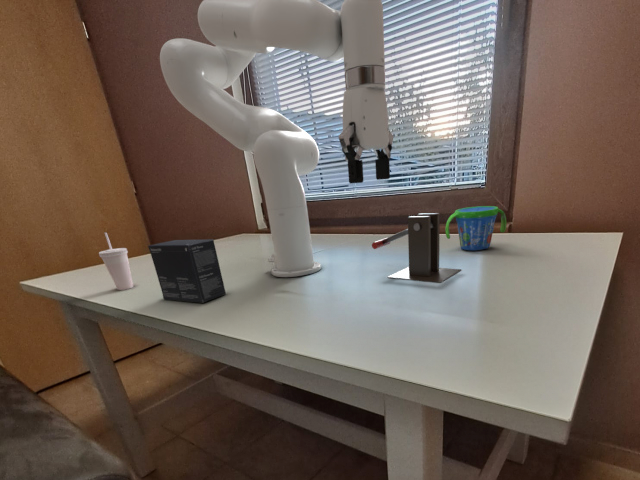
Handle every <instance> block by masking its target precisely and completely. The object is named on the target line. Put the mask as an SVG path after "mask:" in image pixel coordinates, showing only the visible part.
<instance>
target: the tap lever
mask: <svg viewBox="0 0 640 480" xmlns="http://www.w3.org/2000/svg"><path fill="white" fill-rule="evenodd" d="M433 227H434V225H433V222H432V219H431V228H433ZM405 236H408V228H406V229H404V230H402V231H399V232H396V233H395V234H393V235H391V236H388V237H386V238H382V239H379V240H377V241H374V242H372V243H371V248H372V249H373V250H377V249H379V248H382V247H385V246H388V245H390V244H391V242H394V241H396V240H398V239H400V238H403V237H405Z"/></svg>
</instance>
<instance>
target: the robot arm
mask: <svg viewBox="0 0 640 480" xmlns="http://www.w3.org/2000/svg"><path fill="white" fill-rule="evenodd" d="M197 22H198V26H199V29H200V32H202V34H203V36H204V37H205V39H207V40H208V42H210V43H211V44H212V45H210V44H208V43H204V42H201V41H198V40H193V39H189V38H184V37H183V38H182V37H181V38H173V39H169V40H168V41H165V43H164V44H163V45H162V46H161V49H160V52H159V63H160V69H161V72H162V73H161V74H162V75H163V79H164V81H165V84H166V85H167V88H168V89H169V91H170V92H171V94H172V95H173V97H174V98H175V100H177V102H178V103H179V104H180V105H181V106H182V107H183V108H185V109H186V110H187V111H188V112H189V113H190V114H192V115H193V116H194V117H196V118H197V119H199V120H200V121H201V122H202V123H205V124H206V125H207V126H208V127H210V129H212V130H213V131H214V132H216V133H217V134H218V135H219V136H221V137H222V138H224V139H225V140H226V141H227V142H229V143H230V144H231V145H232V146H234V147H235V148H237V149H239V150H241V151H244V152H251V153H252V152H253V153H252V156H253V162H254V166H255V168H256V171H257V174H258V176H259V177H258V178H259V180H260V184H261V186H262V192H263V196H264V201H265V206H266V211H267V217H268V223H269V229H270V234H271V241H272V246H273V247H272V248H273V251H274V252H273V253H272V254H271V256H269V257H268V258H267V262H269V263H273V265H274V267H273V268H271V271H270V272H271V275H272V276H273V277H277V278H294V277H303V276H307V275H311V274H314V273H316V272H319V271H320V270H321V268H322V266H321V263H320V262H318V261H315V259H314V252H313V243H312V236H311V235H312V234H311V227H310V221H309V213H308V205H307V197H306V192H305V189H304V186H303V183H302V181H301V179H300V176H305V175H309V174H310V173H312V172H313V171H314V170H316V168H317V166H318V164H319V161H320V151H319V147H318V144H317V142H316V140H315V139H314V138H313V137H312V136H311V135H310V134H309V132H306V131H305V130H304V129H302V128H301V127H299V126H298V125H297V124H295V123H294V122H292V121H291V120H290V119H289V118H288V117H286V116H285V115H283V114H281V113H280V112H278V111H276V110H275V109H272V108H269V107H264V106H257V105H251V104H246V103H245V102H241V101H240V100H238V99H237V98H235V97H234V96H233V95H232V94H230V93H229V92H227V91H226V90H225V89H228V88H229V87H231V86H232V85H233V84H234V83H235V82H236V81H237V80H238V78H239V77H240V76H241V74H242V73H243V72H244V70H245V69H246V68H247V67H248V65H249V64H250V63H251V62H252V60H253V59H254V58H255V57H256V55H257V54H261V55H267V54H271V53H272V52H273V51H274V50H275V48H278V49H286V50H293V51H297V52H302V53H305V54H308V55H312V56H314V57H317V58H319V59H322V60H325V61H328V62H339V61H341V60H343V66H344V67H343V68H344V69H343V70H344V81H345V82H344V83H345V91H344V92H343V100H342V132H341V133H339V135H338V140H339V143H340V146H341V151H342V153H343V155H344V159H345V161H346V162H347V173H348V183H349V184H362V183H364V165H363V159H361V157H362V155H363V152H364V151H370V150H373V152H374V154H375V157H376V158H377V159H375V160H374V161H375V179H376V180H377V181H381V180H390V178H391V170H390V168H391V165H390V158H391V156H392V154H391V152H392V149H393V146H392V145H393V142H394V135H393V133H392V132H391V131H390V125H389V124H390V123H389V110H388V102H387V97H386V62H385V61H386V60H385V58H386V57H385V33H384V32H385V29H384V27H385V26H384V7H383V2H382V0H343V2H342V4H341V6H340V10H338V9H334V8H331V7H330V6H328V5H327V4H325V3H323V2H321V1H319V0H202V1H201V2H200V4H199V7H198V9H197Z"/></svg>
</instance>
